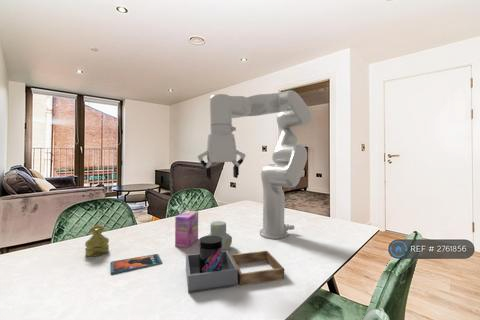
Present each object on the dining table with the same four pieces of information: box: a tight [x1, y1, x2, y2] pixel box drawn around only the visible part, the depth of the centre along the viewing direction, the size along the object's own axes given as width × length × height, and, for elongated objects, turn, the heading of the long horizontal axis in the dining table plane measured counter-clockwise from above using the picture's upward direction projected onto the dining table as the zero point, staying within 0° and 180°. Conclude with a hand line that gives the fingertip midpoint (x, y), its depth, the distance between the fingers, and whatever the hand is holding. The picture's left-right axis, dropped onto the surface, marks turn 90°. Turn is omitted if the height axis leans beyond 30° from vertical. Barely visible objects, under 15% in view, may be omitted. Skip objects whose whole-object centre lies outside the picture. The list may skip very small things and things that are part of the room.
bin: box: [185, 250, 239, 294], centre depth 69 cm, size 13×13×4 cm
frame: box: [229, 250, 285, 286], centre depth 73 cm, size 13×13×3 cm
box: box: [174, 210, 199, 249], centre depth 96 cm, size 10×6×12 cm, turn 168°
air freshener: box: [206, 220, 233, 251], centre depth 89 cm, size 11×8×10 cm
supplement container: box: [198, 235, 222, 273], centre depth 69 cm, size 7×7×10 cm
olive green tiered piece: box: [84, 224, 110, 258], centre depth 86 cm, size 7×7×10 cm
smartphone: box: [109, 253, 163, 275], centre depth 77 cm, size 8×1×15 cm
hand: (222, 178), depth 85 cm, fingers open, 9 cm apart
